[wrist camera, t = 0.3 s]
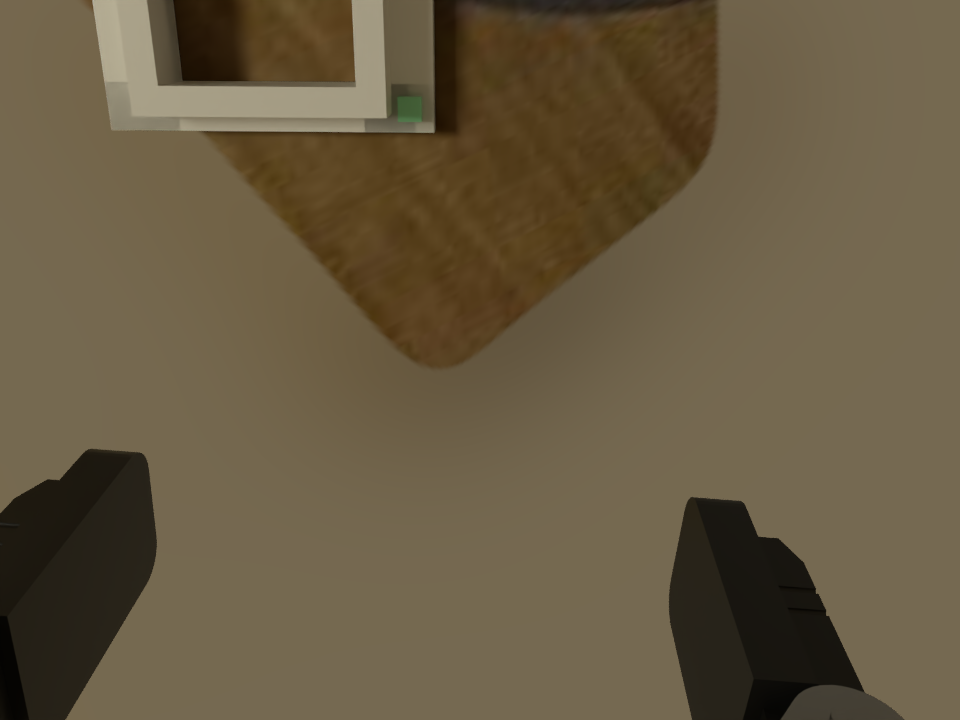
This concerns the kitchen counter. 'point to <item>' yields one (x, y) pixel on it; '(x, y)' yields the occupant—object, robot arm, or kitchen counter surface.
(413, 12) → the frame
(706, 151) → the kitchen counter surface
